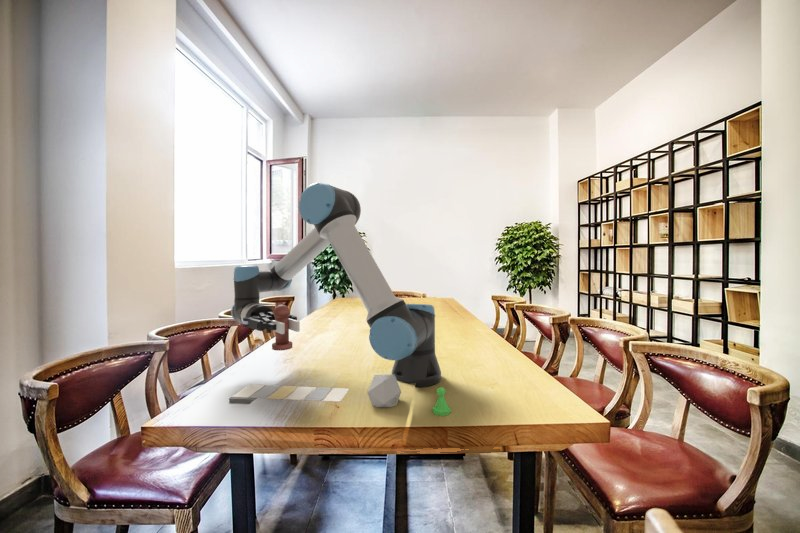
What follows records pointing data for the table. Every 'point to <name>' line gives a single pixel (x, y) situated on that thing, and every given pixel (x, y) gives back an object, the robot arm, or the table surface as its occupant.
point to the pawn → (282, 316)
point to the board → (299, 394)
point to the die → (384, 391)
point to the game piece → (441, 404)
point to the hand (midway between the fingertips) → (290, 327)
